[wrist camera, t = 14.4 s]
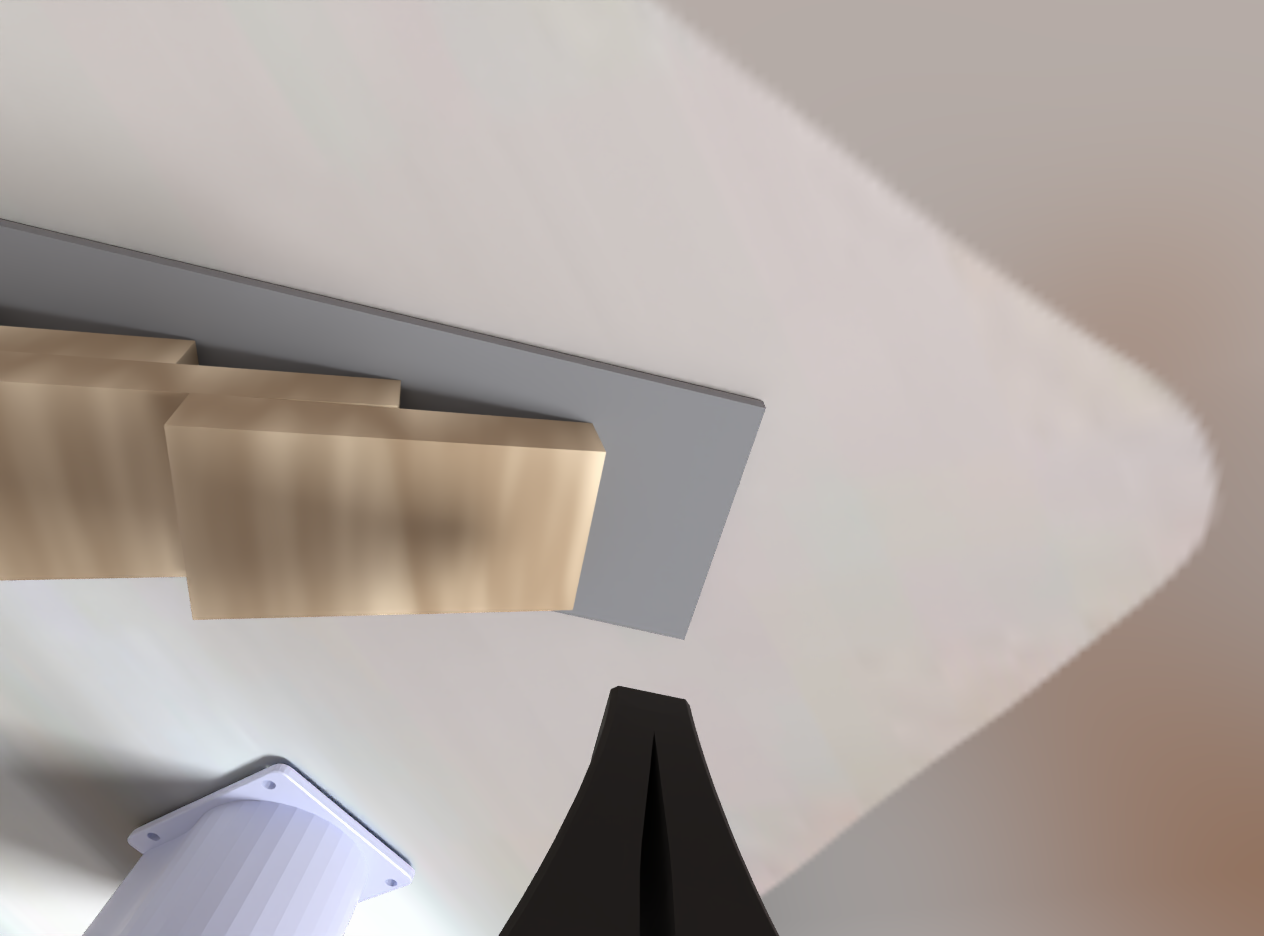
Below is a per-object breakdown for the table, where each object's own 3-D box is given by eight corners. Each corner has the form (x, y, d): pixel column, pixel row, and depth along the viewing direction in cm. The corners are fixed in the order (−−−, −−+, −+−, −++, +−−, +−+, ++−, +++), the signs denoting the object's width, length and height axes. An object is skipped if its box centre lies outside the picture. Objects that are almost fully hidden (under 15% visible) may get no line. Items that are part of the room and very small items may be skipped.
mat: (763, 401, 16) (765, 408, 16) (683, 628, 20) (684, 639, 20) (-272, 153, 15) (-301, 154, 15) (-158, 444, 19) (-178, 452, 18)
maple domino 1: (398, 405, 15) (-105, 374, 12) (394, 572, 17) (-29, 581, 14) (400, 380, 16) (-53, 346, 13) (397, 538, 19) (10, 539, 16)
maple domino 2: (606, 451, 15) (163, 424, 12) (573, 610, 17) (192, 619, 14) (592, 423, 17) (190, 392, 14) (562, 573, 19) (212, 575, 16)
